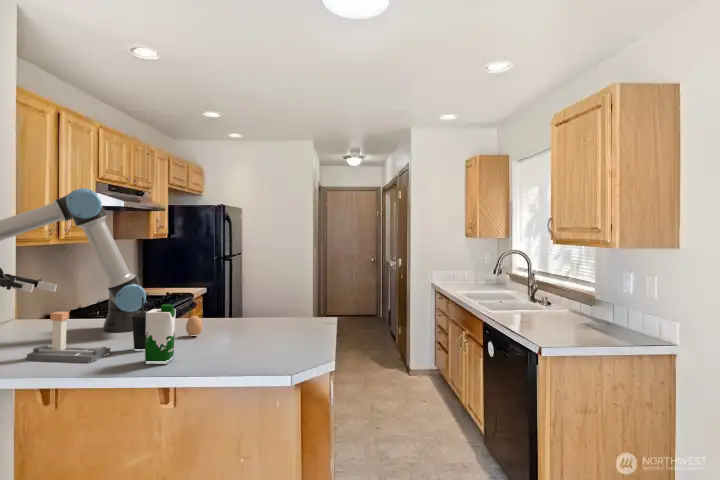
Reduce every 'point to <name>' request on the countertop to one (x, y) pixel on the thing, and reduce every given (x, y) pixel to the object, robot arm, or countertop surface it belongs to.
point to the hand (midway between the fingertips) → (44, 288)
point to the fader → (59, 330)
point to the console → (67, 353)
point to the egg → (194, 325)
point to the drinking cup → (139, 327)
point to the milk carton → (160, 333)
